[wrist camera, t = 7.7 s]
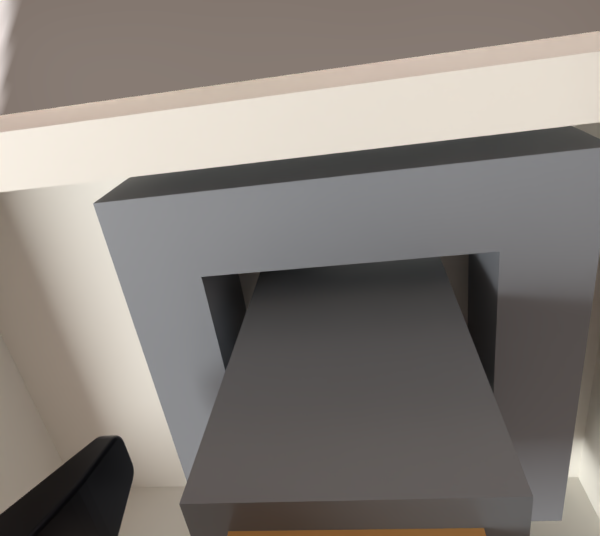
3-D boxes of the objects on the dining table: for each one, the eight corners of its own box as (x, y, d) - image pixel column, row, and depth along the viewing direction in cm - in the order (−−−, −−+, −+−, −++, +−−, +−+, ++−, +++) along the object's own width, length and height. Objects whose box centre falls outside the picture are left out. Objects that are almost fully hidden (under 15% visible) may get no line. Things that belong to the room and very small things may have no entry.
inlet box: (600, 483, 15) (665, 601, 12) (67, 494, 18) (7, 595, 15) (686, 18, 10) (848, 17, 7) (-114, 131, 12) (-273, 169, 9)
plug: (433, 238, 12) (562, 570, 5) (436, 374, 13) (534, 765, 6) (266, 254, 12) (155, 571, 5) (290, 382, 14) (232, 748, 7)
